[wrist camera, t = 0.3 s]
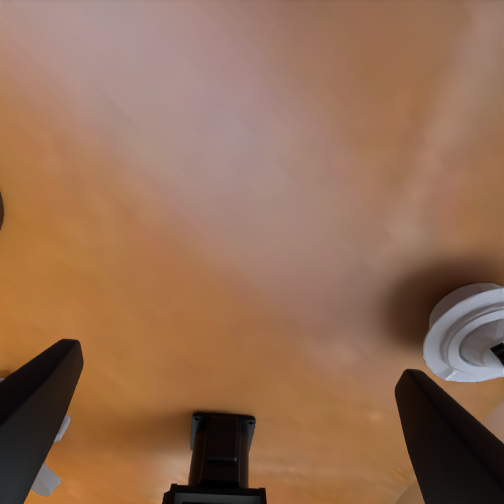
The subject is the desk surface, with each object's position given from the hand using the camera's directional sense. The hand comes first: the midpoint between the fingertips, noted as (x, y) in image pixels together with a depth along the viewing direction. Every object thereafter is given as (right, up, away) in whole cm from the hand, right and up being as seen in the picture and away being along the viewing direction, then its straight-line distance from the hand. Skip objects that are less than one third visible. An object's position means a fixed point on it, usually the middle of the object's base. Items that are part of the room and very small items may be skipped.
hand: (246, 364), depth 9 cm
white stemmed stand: (+18, -2, +18) cm, 26 cm away
